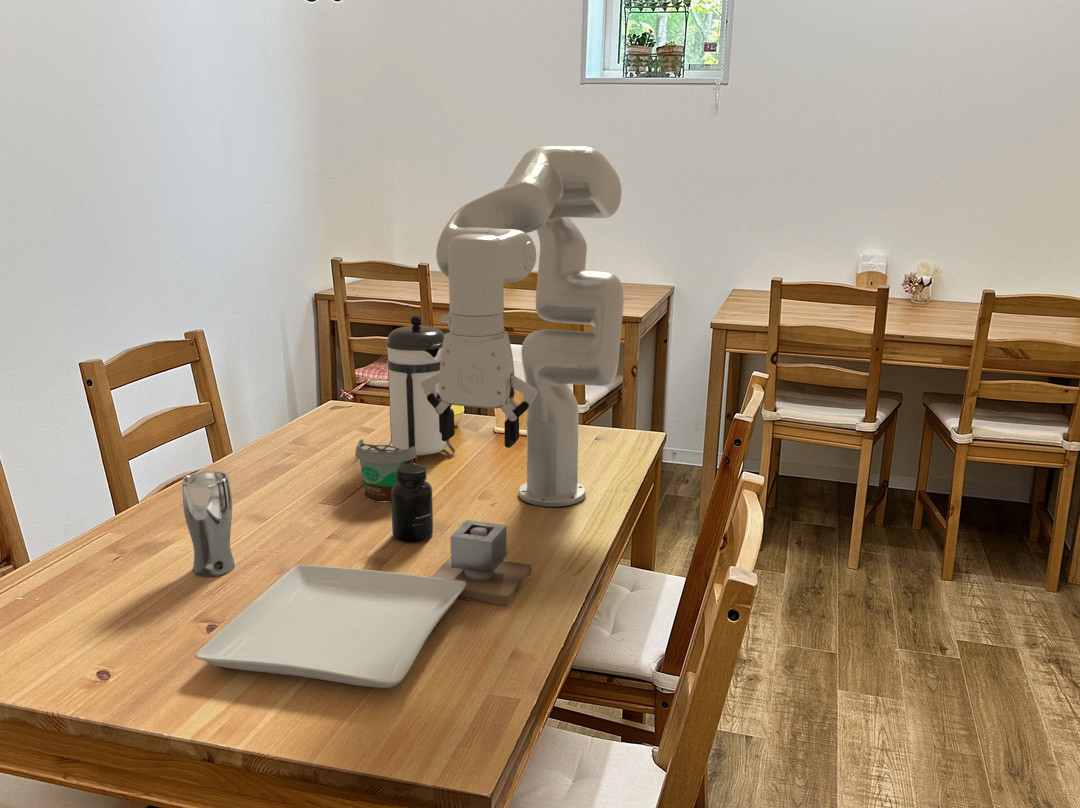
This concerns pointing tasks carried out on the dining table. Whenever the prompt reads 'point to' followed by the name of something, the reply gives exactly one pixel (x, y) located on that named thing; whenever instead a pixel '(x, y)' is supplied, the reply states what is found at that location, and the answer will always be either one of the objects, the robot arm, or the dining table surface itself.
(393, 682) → the square plate
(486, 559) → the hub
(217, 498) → the beer glass
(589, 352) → the robot arm
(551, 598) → the dining table surface
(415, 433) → the coffee press
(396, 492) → the supplement bottle
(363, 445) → the food container
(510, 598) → the shaft block
